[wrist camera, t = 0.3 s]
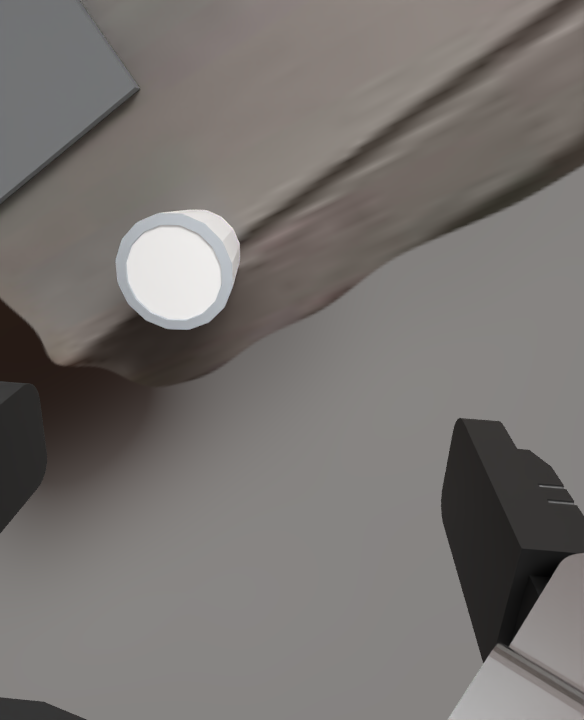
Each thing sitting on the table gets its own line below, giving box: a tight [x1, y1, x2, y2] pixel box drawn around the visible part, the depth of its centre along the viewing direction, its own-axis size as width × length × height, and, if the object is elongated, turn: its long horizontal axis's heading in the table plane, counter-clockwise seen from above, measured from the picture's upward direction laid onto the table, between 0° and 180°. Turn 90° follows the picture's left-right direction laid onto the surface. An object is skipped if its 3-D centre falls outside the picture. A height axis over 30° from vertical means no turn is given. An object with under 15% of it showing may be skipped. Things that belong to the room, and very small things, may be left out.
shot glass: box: [115, 210, 240, 330], centre depth 35 cm, size 7×7×7 cm
